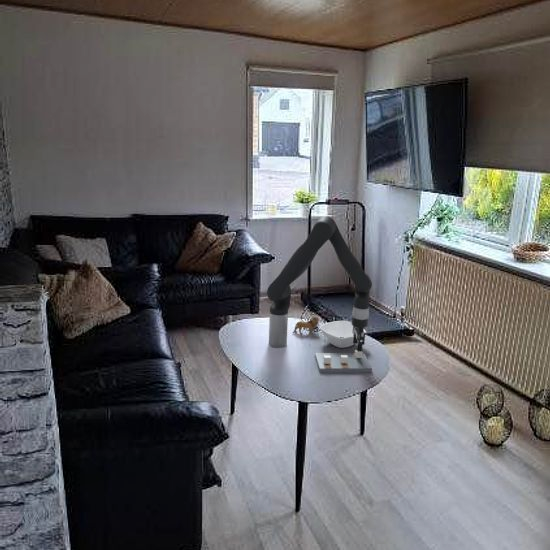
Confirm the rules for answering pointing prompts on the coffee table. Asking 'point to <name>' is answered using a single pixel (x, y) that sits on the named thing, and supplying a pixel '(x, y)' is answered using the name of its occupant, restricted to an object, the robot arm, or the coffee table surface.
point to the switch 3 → (358, 354)
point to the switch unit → (337, 366)
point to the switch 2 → (344, 359)
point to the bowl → (339, 333)
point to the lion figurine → (307, 325)
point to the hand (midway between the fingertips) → (357, 347)
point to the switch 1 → (327, 359)
